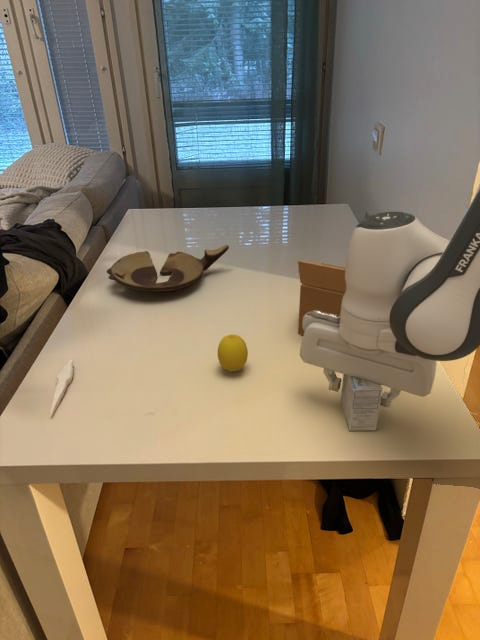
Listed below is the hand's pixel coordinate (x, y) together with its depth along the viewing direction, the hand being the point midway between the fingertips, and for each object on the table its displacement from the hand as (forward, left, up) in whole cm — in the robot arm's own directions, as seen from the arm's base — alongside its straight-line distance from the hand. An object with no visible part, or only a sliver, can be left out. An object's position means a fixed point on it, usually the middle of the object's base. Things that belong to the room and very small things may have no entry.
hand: (359, 396), depth 75 cm
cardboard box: (+11, -24, -4) cm, 27 cm away
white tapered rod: (+48, +18, -4) cm, 52 cm away
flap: (+11, -17, +11) cm, 23 cm away
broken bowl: (+56, -25, -4) cm, 62 cm away
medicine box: (0, 0, -4) cm, 4 cm away
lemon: (+24, -1, -4) cm, 24 cm away
